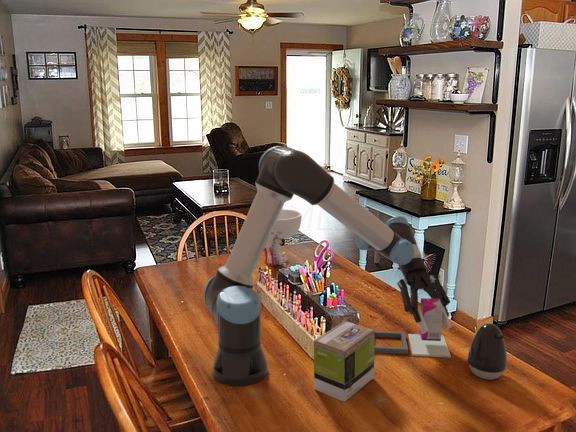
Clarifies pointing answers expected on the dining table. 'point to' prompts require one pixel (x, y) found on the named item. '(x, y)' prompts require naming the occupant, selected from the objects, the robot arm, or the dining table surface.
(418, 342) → the white flat square tile
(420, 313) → the robot arm
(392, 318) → the dining table surface
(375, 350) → the socket frame
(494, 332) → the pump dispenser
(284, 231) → the white sculpted pedestal bowl
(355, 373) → the tea box
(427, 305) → the supplement box
